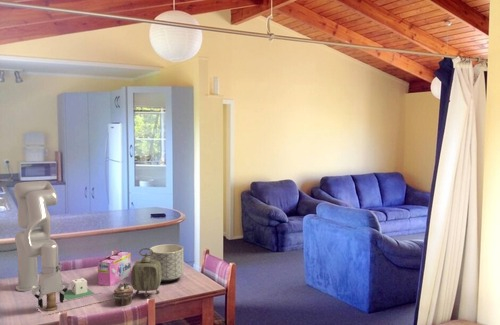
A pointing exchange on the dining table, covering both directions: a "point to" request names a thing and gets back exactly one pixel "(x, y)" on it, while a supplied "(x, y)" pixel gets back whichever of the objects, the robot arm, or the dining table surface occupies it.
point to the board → (80, 306)
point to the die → (79, 286)
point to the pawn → (51, 302)
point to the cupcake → (123, 295)
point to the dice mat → (71, 295)
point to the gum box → (114, 268)
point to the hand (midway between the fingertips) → (51, 304)
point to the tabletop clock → (146, 274)
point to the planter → (169, 260)
